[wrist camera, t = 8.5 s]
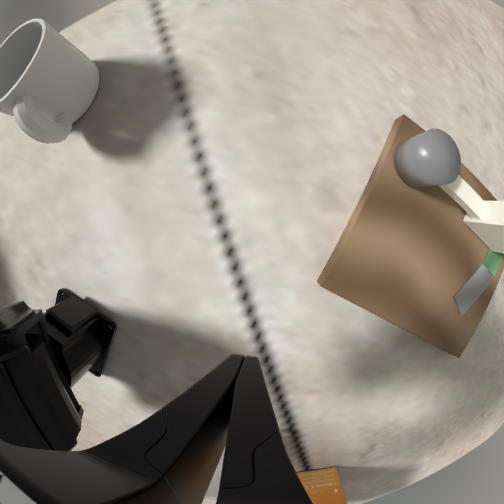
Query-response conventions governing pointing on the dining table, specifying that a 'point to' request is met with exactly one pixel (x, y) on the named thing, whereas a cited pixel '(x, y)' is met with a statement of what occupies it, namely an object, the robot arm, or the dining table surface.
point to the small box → (323, 486)
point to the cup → (45, 81)
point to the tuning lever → (449, 182)
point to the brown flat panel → (415, 255)
